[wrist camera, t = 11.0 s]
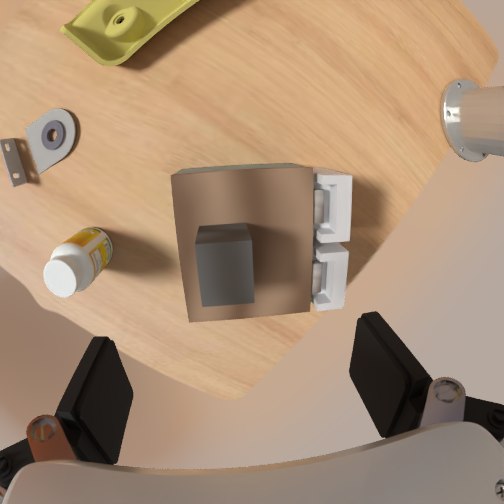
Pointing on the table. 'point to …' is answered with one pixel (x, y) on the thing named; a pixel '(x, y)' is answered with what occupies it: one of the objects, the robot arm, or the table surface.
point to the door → (247, 241)
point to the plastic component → (120, 26)
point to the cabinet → (322, 230)
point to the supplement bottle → (78, 262)
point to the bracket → (41, 144)
